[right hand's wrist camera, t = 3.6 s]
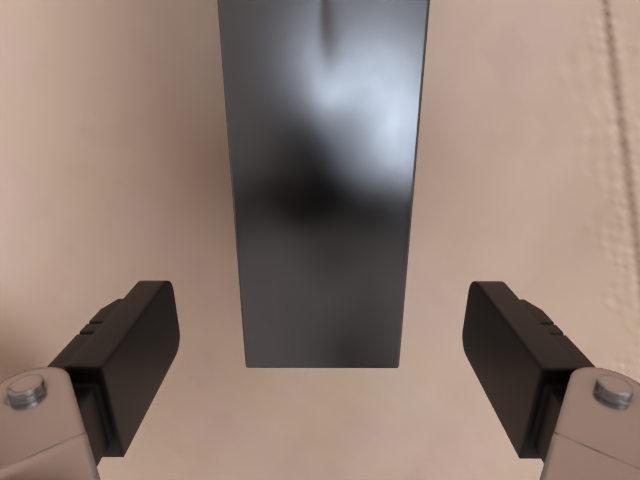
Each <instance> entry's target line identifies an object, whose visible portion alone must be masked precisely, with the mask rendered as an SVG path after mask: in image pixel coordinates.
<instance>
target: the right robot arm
mask: <svg viewBox="0 0 640 480" xmlns="http://www.w3.org/2000/svg"><path fill="white" fill-rule="evenodd" d="M462 339H463V347H464V351H465V354H466V356H467V358H468V360H469V362H470V364H471V366H472V368H473V370H474V372H475V374H476V376H477V378H478V379H479V381H480V383H481V385H482V387H483V389H484V391H485V393H486V395H487V397H488V399H489V401H490V403H491V404H492V406H493V408H494V410H495V412H496V414H497V416H498V418H499V420H500V422H501V424H502V426H503V428H504V430H505V431H506V433H507V435H508V437H509V439H510V441H511V443H512V445H513V447H514V449H515V451H516V453H517V455H518V456H519V458H541V459H542V461H543V463H544V467H543V470H542V473H541V477H540V480H640V383H638V382H637V381H635V380H633V379H631V378H629V377H627V376H625V375H623V374H620V373H617V372H615V371H611V370H608V369H603V368H596V367H595V366H594V365H593V364H592V363H591V362H590V361H589V360H588V359H587V358H586V356H585V355H584V354H583V353H582V352H581V351H580V350H579V349H578V348H577V347H576V346H575V345H574V344H573V343H572V342H571V341H570V339H569V338H568V337H567V336H564V335H563V332H562V331H561V330H560V329H559V328H558V327H557V326H556V325H554V322H553V321H552V320H551V319H550V318H549V317H548V316H547V315H546V314H545V313H544V312H543V311H542V310H541V309H539V308H537V307H536V306H534V305H532V304H531V303H529V302H527V301H526V300H519V299H518V298H517V296H516V295H515V294H514V293H513V292H512V291H511V290H510V288H509V287H508V286H507V285H506V284H505V283H504V282H502V281H474V282H472V283H471V285H470V288H469V293H468V299H467V306H466V312H465V319H464V326H463V334H462ZM179 340H180V331H179V324H178V317H177V310H176V304H175V297H174V290H173V286H172V284H171V282H170V281H139V282H138V283H137V284H136V285H135V286H134V287H133V288H132V290H131V291H130V292H129V293H128V294H127V295H126V296H125V298H124V299H117V300H116V301H114V302H112V303H111V304H109V305H107V306H106V307H104V308H102V309H101V310H100V311H99V312H98V313H97V314H96V315H95V316H94V317H93V318H92V319H91V320H90V321H89V324H87V325H86V326H85V327H84V328H83V329H82V330H81V331H80V334H79V335H76V336H75V338H74V339H73V340H72V341H71V342H70V343H69V344H68V345H67V346H66V347H65V348H64V349H63V350H62V352H61V353H60V354H59V355H58V356H57V357H56V358H55V359H54V360H53V361H52V362H51V363H50V364H49V365H48V367H44V368H37V369H32V370H29V371H25V372H23V373H20V374H17V375H15V376H13V377H11V378H9V379H7V380H5V381H3V382H2V383H0V480H100V477H99V473H98V470H97V465H98V464H99V462H100V460H101V458H102V457H124V455H125V453H126V451H127V449H128V448H129V446H130V444H131V442H132V440H133V438H134V436H135V434H136V432H137V430H138V428H139V426H140V424H141V422H142V420H143V418H144V416H145V414H146V412H147V410H148V409H149V407H150V405H151V403H152V401H153V399H154V397H155V395H156V393H157V391H158V389H159V387H160V385H161V383H162V381H163V379H164V377H165V375H166V373H167V371H168V370H169V368H170V366H171V364H172V362H173V360H174V358H175V356H176V354H177V351H178V347H179Z"/></svg>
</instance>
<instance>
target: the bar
mask: <svg viewBox="0 0 640 480" xmlns="http://www.w3.org/2000/svg"><path fill="white" fill-rule="evenodd" d="M217 1H218V14H219V27H220V40H221V53H222V66H223V79H224V92H225V105H226V117H227V130H228V143H229V156H230V169H231V182H232V195H233V208H234V221H235V234H236V247H237V260H238V273H239V285H240V298H241V311H242V324H243V337H244V350H245V363H246V367H248V368H398V367H399V359H400V347H401V335H402V323H403V312H404V300H405V288H406V276H407V265H408V253H409V241H410V229H411V217H412V206H413V194H414V182H415V170H416V159H417V147H418V135H419V123H420V111H421V100H422V88H423V76H424V64H425V53H426V41H427V29H428V17H429V5H430V0H217Z"/></svg>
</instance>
